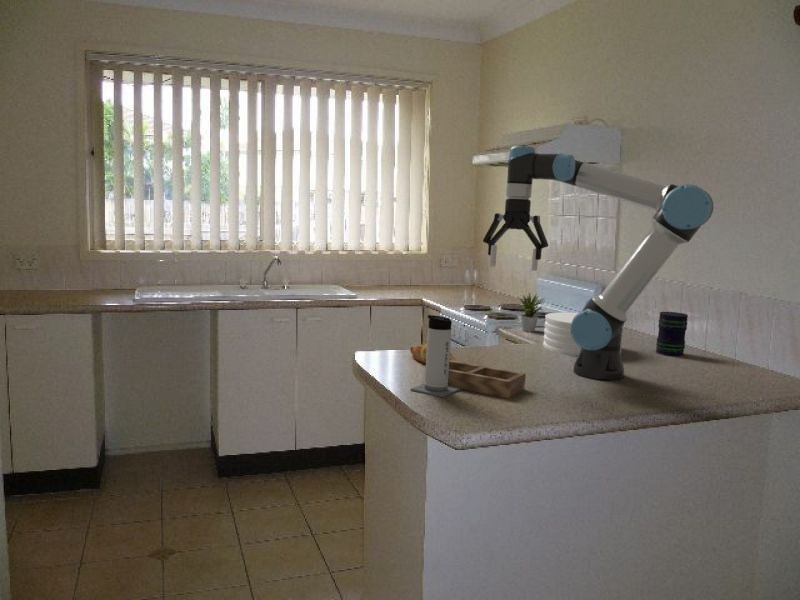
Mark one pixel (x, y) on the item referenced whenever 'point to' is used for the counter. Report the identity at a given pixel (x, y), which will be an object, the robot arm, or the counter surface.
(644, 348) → the counter surface
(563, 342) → the plate stack
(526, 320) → the house plant
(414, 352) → the croissant
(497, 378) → the wooden divided tray
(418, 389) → the mat
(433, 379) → the travel mug
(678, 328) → the storage jar
